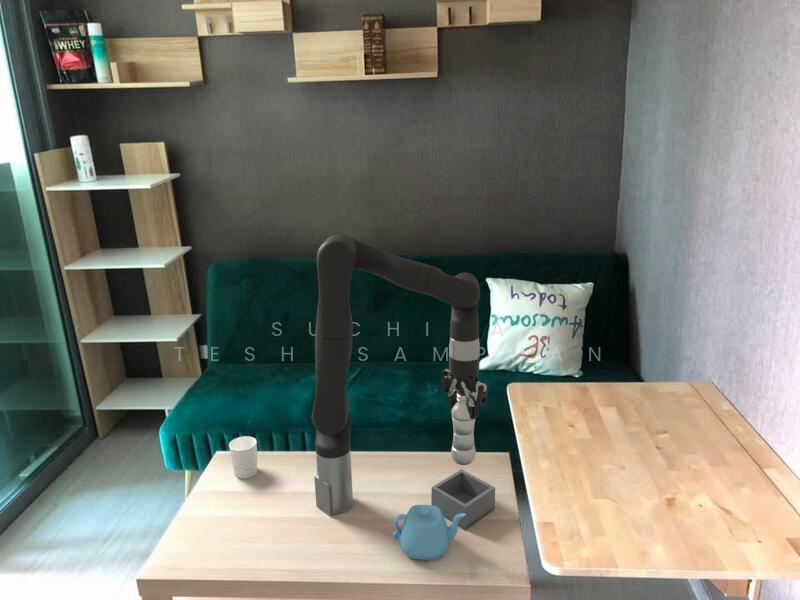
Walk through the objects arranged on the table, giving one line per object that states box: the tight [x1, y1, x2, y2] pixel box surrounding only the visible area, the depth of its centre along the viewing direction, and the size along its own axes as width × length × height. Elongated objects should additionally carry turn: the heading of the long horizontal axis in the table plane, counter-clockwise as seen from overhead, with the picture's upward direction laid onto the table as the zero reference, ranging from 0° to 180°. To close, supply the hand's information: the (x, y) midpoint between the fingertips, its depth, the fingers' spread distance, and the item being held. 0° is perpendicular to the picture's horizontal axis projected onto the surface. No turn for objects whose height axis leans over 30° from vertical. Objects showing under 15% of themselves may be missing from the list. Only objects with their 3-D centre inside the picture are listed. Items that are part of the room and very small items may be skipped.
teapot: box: [392, 504, 466, 561], centre depth 156 cm, size 13×11×18 cm
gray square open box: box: [431, 468, 496, 531], centre depth 170 cm, size 12×12×7 cm
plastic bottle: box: [450, 391, 477, 466], centre depth 163 cm, size 6×7×20 cm
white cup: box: [228, 435, 258, 480], centre depth 187 cm, size 8×8×10 cm
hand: (463, 413), depth 162 cm, fingers closed on plastic bottle, 6 cm apart
